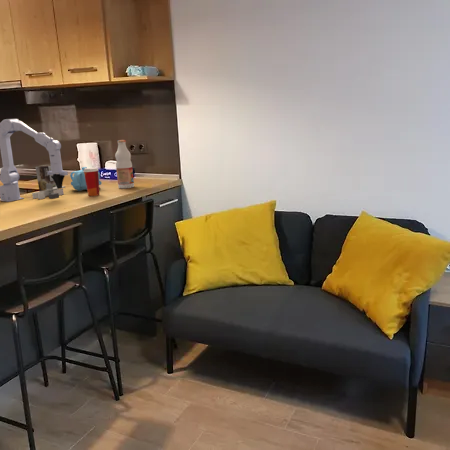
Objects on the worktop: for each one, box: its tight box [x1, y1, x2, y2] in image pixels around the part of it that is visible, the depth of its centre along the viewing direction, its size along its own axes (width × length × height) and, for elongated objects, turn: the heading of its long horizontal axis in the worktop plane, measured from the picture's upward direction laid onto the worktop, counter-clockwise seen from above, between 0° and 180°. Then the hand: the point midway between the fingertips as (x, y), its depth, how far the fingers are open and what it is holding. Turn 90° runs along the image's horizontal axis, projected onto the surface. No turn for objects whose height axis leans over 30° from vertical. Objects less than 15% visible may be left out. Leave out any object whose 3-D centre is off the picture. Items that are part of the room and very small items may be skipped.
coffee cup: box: [83, 167, 100, 197], centre depth 256 cm, size 8×8×15 cm
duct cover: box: [46, 184, 66, 190], centre depth 265 cm, size 9×5×3 cm, turn 146°
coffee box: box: [35, 164, 57, 192], centre depth 274 cm, size 9×6×16 cm
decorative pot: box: [69, 166, 103, 192], centre depth 277 cm, size 16×16×14 cm
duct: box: [31, 188, 65, 200], centre depth 261 cm, size 16×6×3 cm, turn 146°
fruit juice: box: [114, 139, 135, 189], centre depth 276 cm, size 9×9×28 cm
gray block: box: [48, 193, 60, 199], centre depth 257 cm, size 4×4×2 cm
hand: (59, 188), depth 252 cm, fingers closed
